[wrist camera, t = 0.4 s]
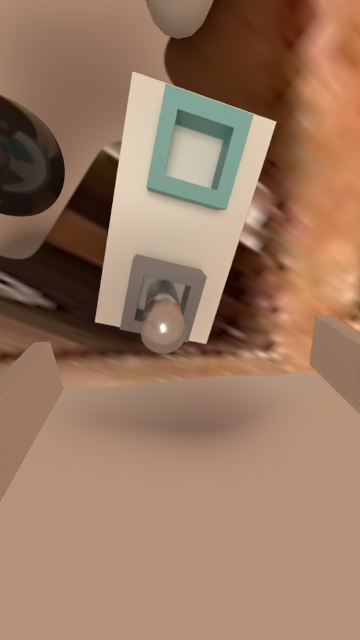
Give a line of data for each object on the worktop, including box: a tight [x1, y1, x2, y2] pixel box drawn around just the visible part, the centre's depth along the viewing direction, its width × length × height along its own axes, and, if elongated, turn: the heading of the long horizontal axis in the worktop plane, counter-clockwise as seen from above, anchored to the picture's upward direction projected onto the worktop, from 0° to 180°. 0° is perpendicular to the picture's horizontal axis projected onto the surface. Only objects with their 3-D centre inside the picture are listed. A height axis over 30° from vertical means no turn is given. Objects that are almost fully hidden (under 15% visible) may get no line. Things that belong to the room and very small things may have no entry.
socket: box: [146, 84, 254, 210], centre depth 28 cm, size 9×9×4 cm
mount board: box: [95, 72, 276, 344], centre depth 31 cm, size 16×28×6 cm, turn 166°
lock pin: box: [141, 279, 186, 353], centre depth 29 cm, size 4×4×13 cm
